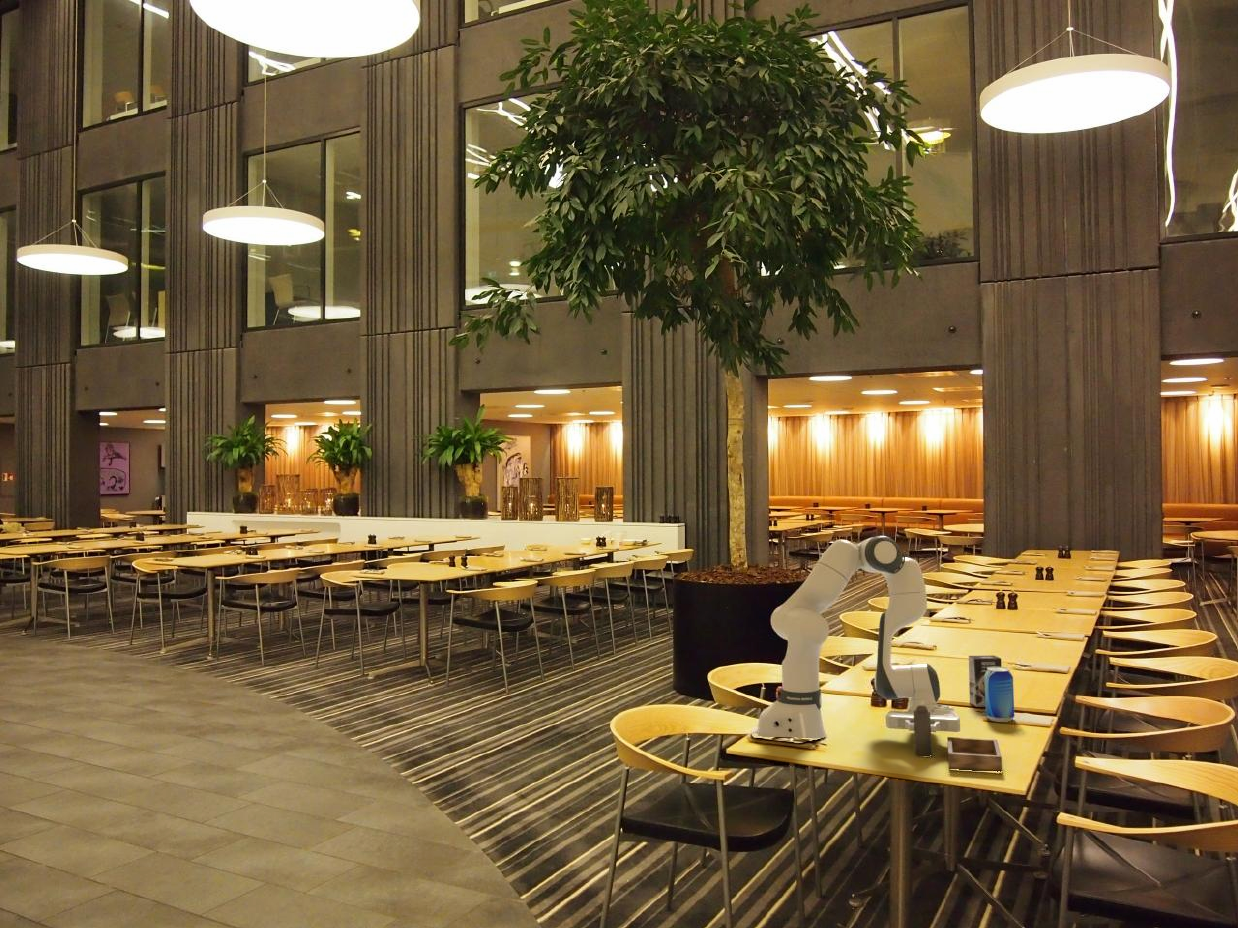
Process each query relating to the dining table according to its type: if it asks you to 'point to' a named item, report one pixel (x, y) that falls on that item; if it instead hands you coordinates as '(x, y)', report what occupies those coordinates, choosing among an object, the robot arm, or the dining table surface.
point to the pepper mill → (922, 730)
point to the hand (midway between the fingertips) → (922, 728)
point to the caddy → (974, 754)
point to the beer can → (999, 694)
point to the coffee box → (980, 677)
